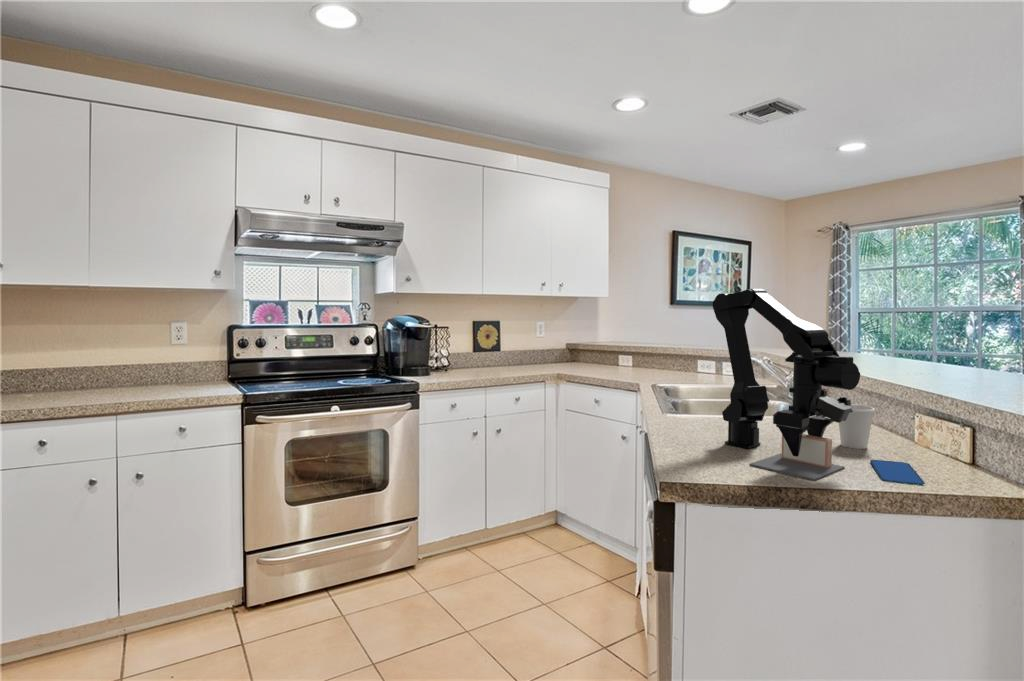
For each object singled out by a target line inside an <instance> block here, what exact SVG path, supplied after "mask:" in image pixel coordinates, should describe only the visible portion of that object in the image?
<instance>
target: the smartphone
mask: <svg viewBox="0 0 1024 681" xmlns="http://www.w3.org/2000/svg"><path fill="white" fill-rule="evenodd" d="M870 465H871V467H872V468H873V470H874V471H875V472H876V474H877V476H878V477H879V479H880V480H881V481H883V482H886V483H894V482H896V484H904V483H907V484H906V485H913V484H919V485H918V486H924V485H923V484H926V483H925V480H924V479H922V477H921V476H920V475H919V474H918V472H916V470H915V469H914V468H913V467H912V465H911V464H910V463H907V462H904V461H893V460H883V459H870Z"/></svg>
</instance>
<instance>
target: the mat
mask: <svg viewBox="0 0 1024 681" xmlns="http://www.w3.org/2000/svg"><path fill="white" fill-rule="evenodd" d="M781 457H782V452H780V453H778V454H776V455H772V456H769V457H765V458H763V459H760V460H757V461H753V462H751V463H749V466H751V467H755V468H758V469H763V470H768V471H771V472H775V473H779V474H784V475H789V476H792V477H798V478H801V479H804V480H809V481H813V482H815V481H819V480H820V479H824V478H825V477H828V476H831V475H832V474H835V473H837V472H840V471H843V470H845V468H846V466H843V465H840V464H839V465H838V464H831V467H828V468H825V467H821V466H816V465H812V464H807V463H802V462H798V461H793V460H789V459H784V458H781Z"/></svg>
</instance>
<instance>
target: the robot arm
mask: <svg viewBox="0 0 1024 681" xmlns="http://www.w3.org/2000/svg"><path fill="white" fill-rule="evenodd" d="M712 309H713V313H714V316H715V318H716V320H717V321H718V323H720V325H721V326H722V327H723V329H724V333H725V338H726V344H727V350H728V355H729V361H730V365H731V372H732V376H733V377H732V378H733V383H734V384H733V386H732V389H731V391H730V393H729V394H730V403H729V404H728V405H727V406H726V407H725V408H724V409H723V410H722V411H721V414H722V419H723V421H724V422H725V421H726V422H728V426H727V430H728V431H727V433H728V434H727V440H726V441H724V444H725V445H729V444H730V445H729V446H735V447H738V448H745V449H750V448H754V447H756V446H757V447H758V446H760V445H761V442H760V428H759V427H758V424H759V423H758V422H763V420H764V418H765V414H766V412H767V410H768V408H769V402H770V400H769V397H768V389H767V387H766V385H760V384H759V383H758V381H757V380H756V378H755V377H756V376H755V372H754V367H753V366H754V365H753V363H752V362H753V361H752V356H751V351H750V346H749V345H750V344H749V341H748V334H747V331H746V323H747V320H748V317H749V315H750V313H749V312H750V311H749V310H750V309H754V311H756V312H757V313H758V314H759V315H761V316H762V318H764V319H765V320H766V321H768V322H769V323H770V324H771V325H773V327H775V328H776V329H777V330H778V331H779V332H780V333H781V334H782V338H783V341H784V343H786V345H787V346H788V347H789V349H791V351H792V353H791V354H790V355H789V356H787V357H786V358H785V359H784V361H785V362H786V363H793V372H792V374H793V377H792V380H793V381H792V387H788V392H789V393H792V404H791V405H788V409H781V410H779V411H776V412H775V413H774V414H773V415H772V423H773V424H774V425H775V427H776V428H778V430H779V432H780V433H781V436H782V435H783V436H784V438H785V440H786V442H787V445H788V447H789V449H790V451H791V453H792V455H793V456H796V457H797V456H799V451H800V446H801V440H802V434H804V433H806V431H807V435H811V436H817V437H823V436H824V433H825V431H826V428H827V427H829V426H830V425H831V424H833V423H834V422H835V423H838V424H839V423H840V422H841V421H846V419H847V417H848V415H849V413H852V407H853V406H851V404H852V402H851V401H852V400H851V398H850V397H847V396H839V398H835V397H833V398H832V397H830V396H828V390H827V389H826V388H823V387H827V388H833V389H842V390H847V391H852V390H854V389H855V388H856V387H857V386H858V385H859V384H860V380H861V372H860V370H859V366H857V365H856V364H855V363H854V357H853V356H840V355H839V353H838V350H836V348H835V347H834V345H833V343H832V342H831V340H830V338H829V333H828V332H827V331H826V329H824V328H822V327H820V326H819V325H817V324H815V323H813V322H809V321H806V320H804V319H801V318H799V317H798V316H796V315H795V314H794V313H793V312H791V311H790V310H789V309H788V308H786V307H785V306H784V305H783V304H781V303H780V302H778V301H777V300H776V299H775V298H774V297H773V296H772V295H770V294H769V293H768V291H767V290H765V289H763V288H747V289H745V290H742V291H737V292H731V293H727V292H726V293H725V292H724V293H722V292H721V293H718V294H717V295H716V296H715V298H714V300H713V301H712Z"/></svg>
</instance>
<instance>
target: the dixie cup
mask: <svg viewBox="0 0 1024 681" xmlns="http://www.w3.org/2000/svg"><path fill="white" fill-rule="evenodd" d="M851 406H853V407H852V413H849V415H848V417H847V419H846V421H841V422H840V423H838V426H839V427H838V428H839V429H838V430H839V437H840V439H839V440H840V445H841V446H842V447H845V448H850V449H859V450H861V449H862V450H864V449H867V448H868V445H869V440H870V435H871V430H872V429H871V427H872V424H873V417H874V412H875V410H876V409H875V408H874V407H872V406H870V405H865V404H855V403H851Z"/></svg>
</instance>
